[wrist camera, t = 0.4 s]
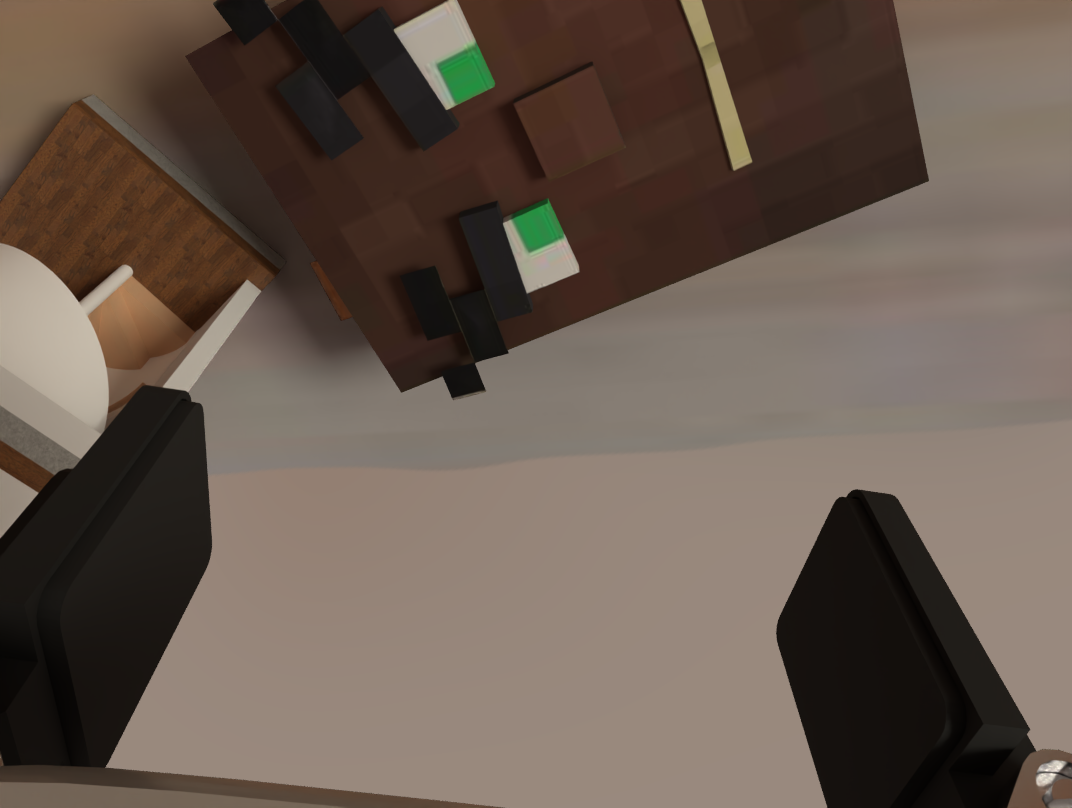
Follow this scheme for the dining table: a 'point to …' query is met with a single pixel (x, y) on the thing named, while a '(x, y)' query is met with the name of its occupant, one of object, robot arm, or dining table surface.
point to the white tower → (106, 291)
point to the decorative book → (552, 150)
